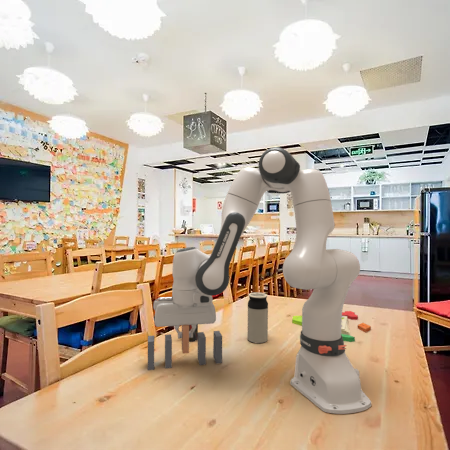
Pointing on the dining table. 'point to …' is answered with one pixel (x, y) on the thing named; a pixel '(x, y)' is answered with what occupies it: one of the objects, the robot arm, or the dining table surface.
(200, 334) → the domino
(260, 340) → the travel mug
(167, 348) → the domino
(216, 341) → the domino
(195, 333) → the deodorant
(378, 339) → the dining table surface
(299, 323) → the pattern blocks set
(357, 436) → the dining table surface
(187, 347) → the domino
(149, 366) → the domino
